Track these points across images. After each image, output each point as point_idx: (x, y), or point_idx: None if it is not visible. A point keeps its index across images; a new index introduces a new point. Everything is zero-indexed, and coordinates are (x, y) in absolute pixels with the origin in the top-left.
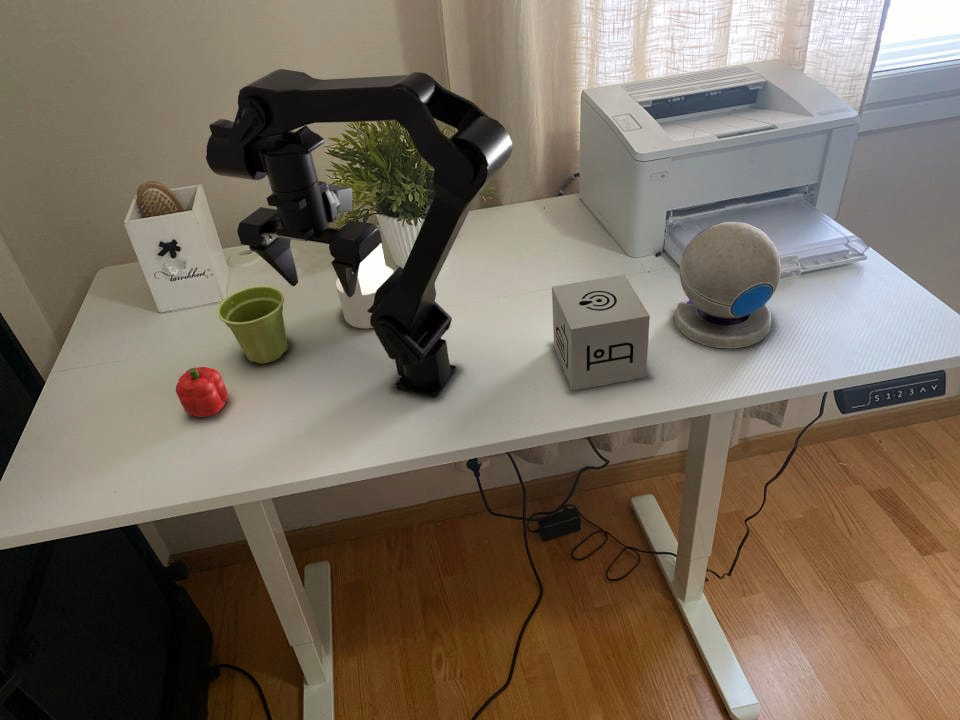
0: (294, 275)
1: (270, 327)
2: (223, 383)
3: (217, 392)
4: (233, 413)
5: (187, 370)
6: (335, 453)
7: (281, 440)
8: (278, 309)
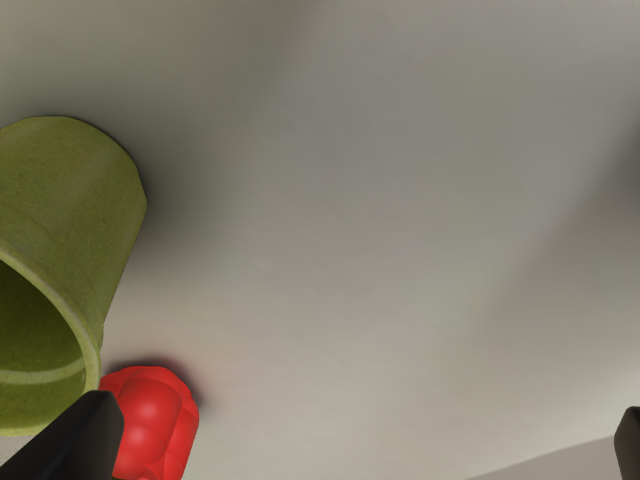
0: (82, 471)
1: (104, 309)
2: (160, 413)
3: (174, 430)
4: (224, 385)
5: None
6: (554, 415)
7: (400, 414)
8: (87, 328)
